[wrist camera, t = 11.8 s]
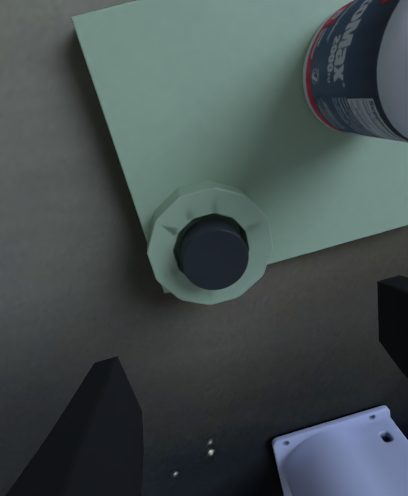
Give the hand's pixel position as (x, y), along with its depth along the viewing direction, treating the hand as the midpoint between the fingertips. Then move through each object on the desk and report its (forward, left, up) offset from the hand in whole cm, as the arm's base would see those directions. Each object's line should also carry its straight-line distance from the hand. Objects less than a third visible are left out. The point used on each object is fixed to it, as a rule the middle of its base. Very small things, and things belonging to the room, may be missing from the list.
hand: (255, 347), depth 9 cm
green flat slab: (-5, -4, -10) cm, 12 cm away
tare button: (0, 0, -8) cm, 8 cm away
